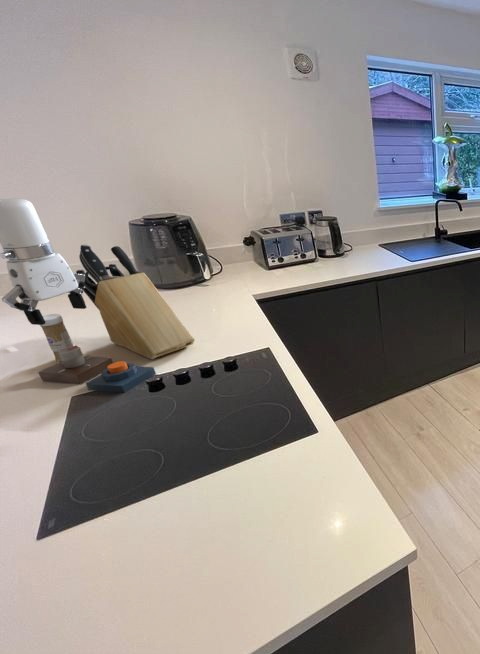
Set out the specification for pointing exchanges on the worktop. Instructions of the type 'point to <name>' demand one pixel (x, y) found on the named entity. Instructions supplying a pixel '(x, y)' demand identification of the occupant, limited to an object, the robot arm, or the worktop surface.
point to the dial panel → (76, 371)
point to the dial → (72, 357)
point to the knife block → (132, 307)
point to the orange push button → (117, 367)
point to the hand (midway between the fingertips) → (60, 315)
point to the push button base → (121, 379)
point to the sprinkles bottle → (56, 334)
